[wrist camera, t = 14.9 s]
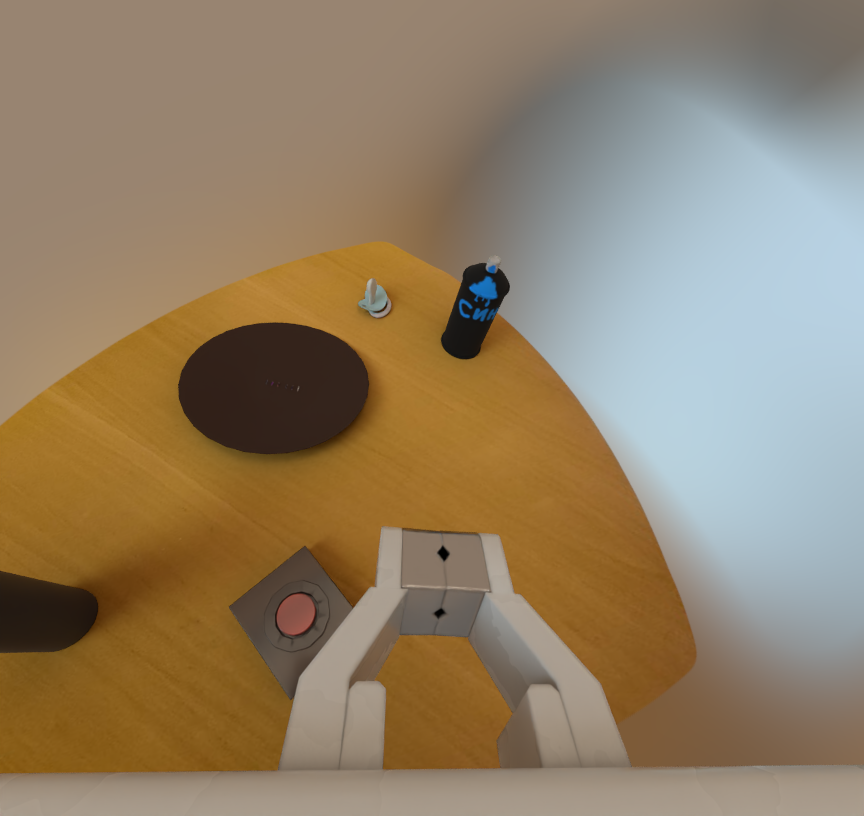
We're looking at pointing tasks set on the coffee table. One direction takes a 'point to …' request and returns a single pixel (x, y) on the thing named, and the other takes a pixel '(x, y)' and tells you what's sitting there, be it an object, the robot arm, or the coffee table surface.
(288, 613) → the button
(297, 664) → the button block
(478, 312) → the aerosol can
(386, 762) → the coffee table surface
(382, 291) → the pacifier
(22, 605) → the spray bottle
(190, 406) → the plate
